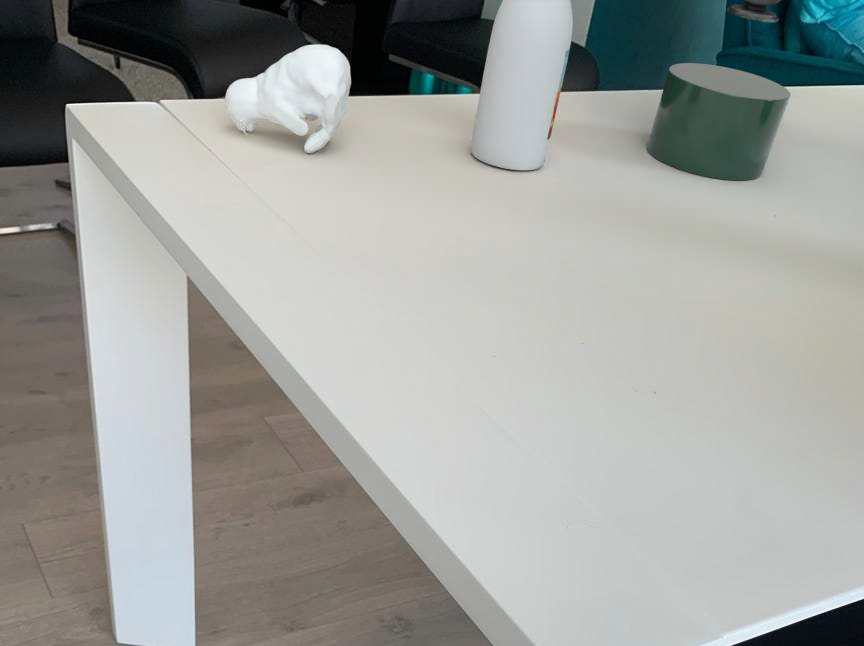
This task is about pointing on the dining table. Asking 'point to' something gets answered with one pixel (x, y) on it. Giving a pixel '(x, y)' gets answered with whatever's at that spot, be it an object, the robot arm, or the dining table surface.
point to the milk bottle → (522, 83)
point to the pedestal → (717, 121)
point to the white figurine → (295, 94)
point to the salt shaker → (755, 10)
